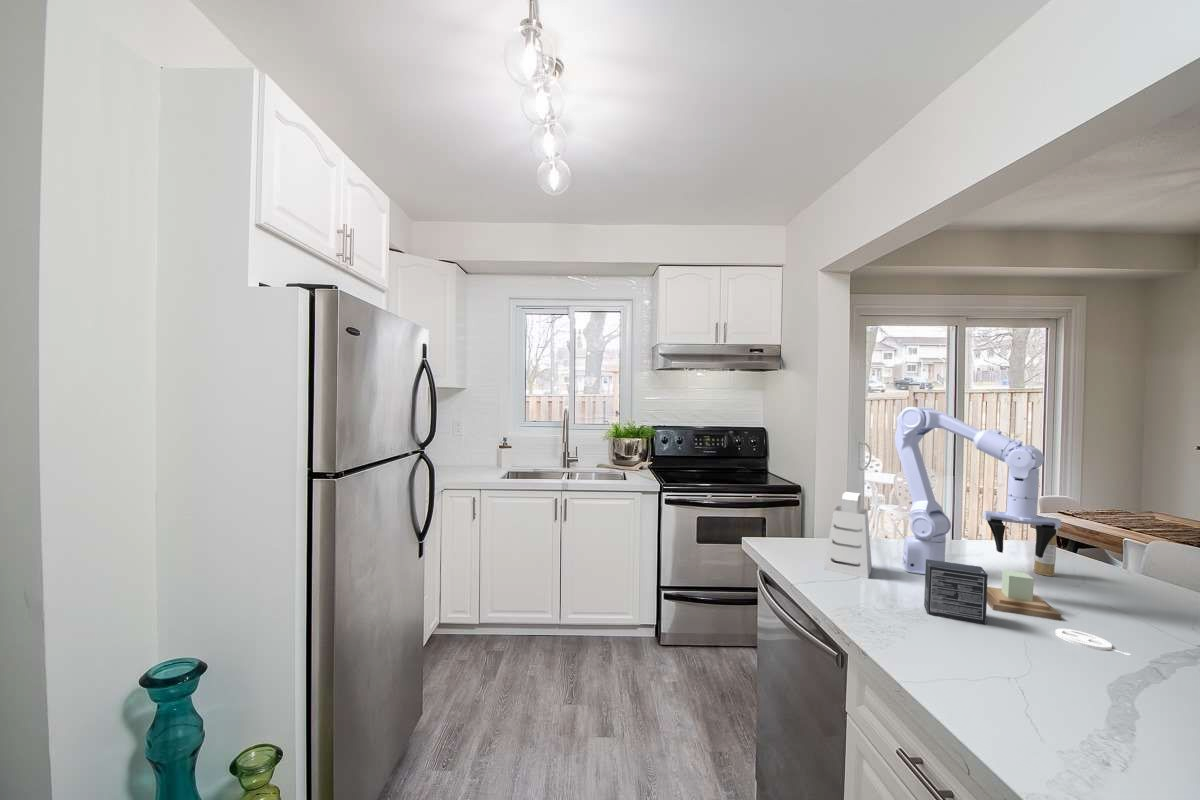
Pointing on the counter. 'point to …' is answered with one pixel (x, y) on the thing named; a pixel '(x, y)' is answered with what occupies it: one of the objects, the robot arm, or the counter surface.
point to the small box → (956, 591)
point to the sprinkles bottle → (1047, 559)
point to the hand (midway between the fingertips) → (1019, 554)
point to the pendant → (1084, 639)
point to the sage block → (1017, 585)
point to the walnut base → (1020, 605)
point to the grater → (849, 538)
